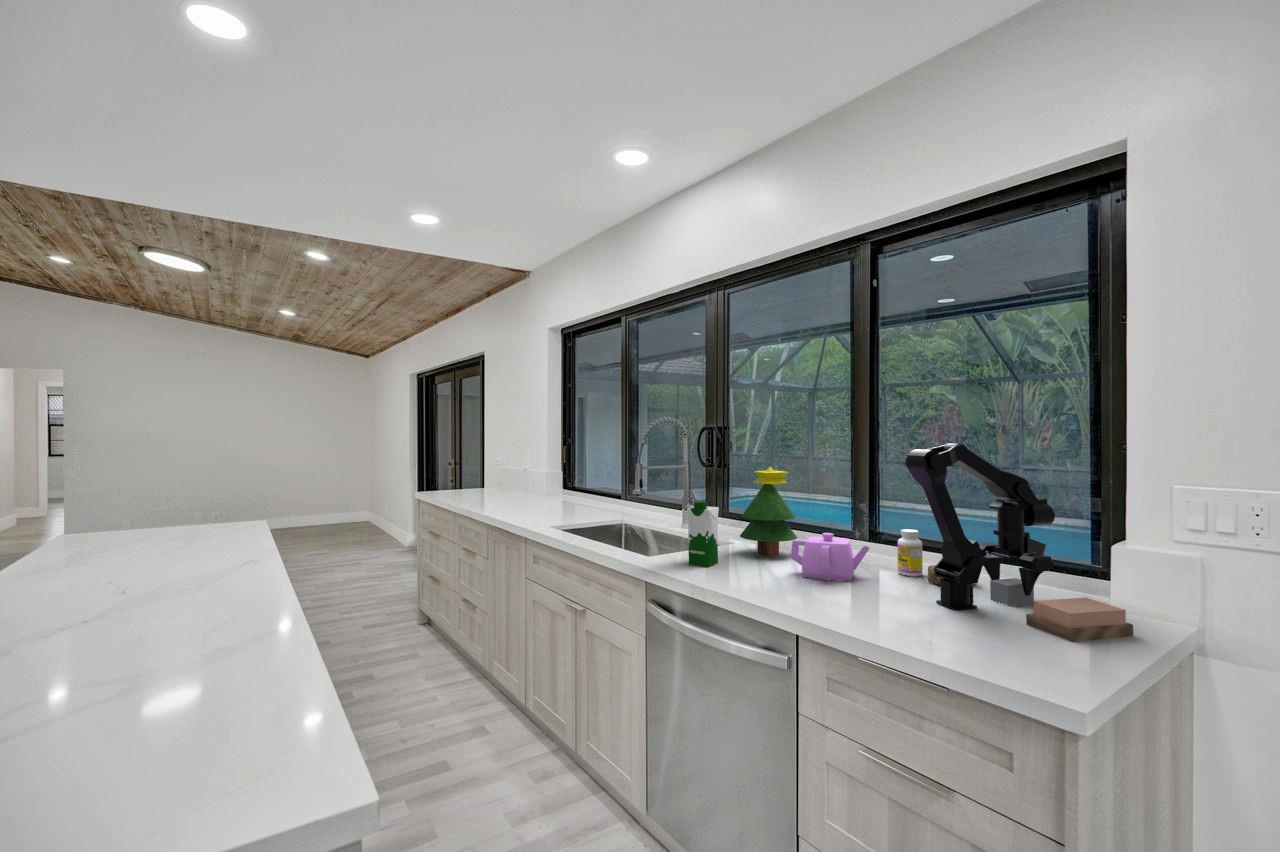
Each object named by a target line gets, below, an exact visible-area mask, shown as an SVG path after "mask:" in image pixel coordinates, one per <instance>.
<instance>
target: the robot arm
mask: <svg viewBox="0 0 1280 852" xmlns="http://www.w3.org/2000/svg"><path fill="white" fill-rule="evenodd" d="M955 464H956V465H957V466H958V467H960V468H961V469H963V470H964V471H966V472H968V473H969V474H970V475H972V476H974V477H976V478H977V479H978V480H980V481H981V482H983V483H984V484H985V486H986V488H987V490H988V491H989V492H990V493H991V494H992V495H994V496H995V498H997V499H995V501H994V502H993V503H991V504H990V505H989V509H991V510H992V509H993V510H997V513H996V515H997V518H996V519H997V520H996V521H997V525H996V526H997V528H996V529H995V530H994V529H993V530H992V531H993V535H995V536H997V543H993V542H978V541H977V540H973V539H969V538H967V536H966V534H965V531H964V529H963V526H962V524H961V522H960V519H959V516H958V514H957V511H956V508H955V506H954V503H953V500H952V497H951V495H950V493H949V490H948V487H947V485H946V478H947V474H948V468H949V467H951V466H953V465H955ZM905 465H906V468H907V470H908V471H909V473H910V475H911V476H912V478H913V479H914V481H916V482H917V483H918V484H919V485H920V487H922V489H923V491H924V494H925V497H926V499H927V501H928V503H929V507H930V510H931V512H932V514H933V517H934V521H935V522H936V525H937V528H938V530H939V533H940V536H941V538H942V545H941V549H940V551H941V557H942V558H941V559H940V560H939V561H938V562H937V564H936V566H935V567H934V572H935V575H936V576H937V577H941V578H943V579H940V584H941V585H940V599H937V600H936V601H935V603H936V604H938V605H941V606H943V607H946V608H949V609H951V610H955V611H959V610H969V609H972V610H973V609H978V605H976V604H974V586H973V585H976V584H977V585H978V583H979V580H980V576H981V573H982V569H983V567H984V569H985V571H986V572H987V575H988V577H989V578H990V580H1000V579H1001V564H1002V562H1003V561H1004V560H1005V559H1008V560H1013V561H1016V562H1019V565H1020V566H1021V567H1018V571H1019V576H1020V579H1021V581H1022V586H1023V590H1024V593H1025V595H1026V596H1030V594H1031V592H1032V589H1033V587H1034V588H1035V585H1036V582H1037V580H1038V578H1039V577H1040V575H1041V574H1043V573H1044V572H1048V571H1049V570H1054V566H1055V565H1054V559H1053V558H1052V556H1049V555H1045V552H1046V551H1045V550H1046V548H1047V547H1046V546H1047V544H1046V543H1043V542H1040V541H1038V540H1036V539H1032V538H1031V534H1030V532H1028V531H1026V530H1025V527H1040V526H1044V527H1045V526H1051V525H1052V524H1053V523H1054V521H1055V519H1056V513H1055V511H1054V509H1053V507H1052V506H1051V505H1050V504H1048V499H1047V498H1043V497H1038V498H1037V496H1036V494H1035V493H1034V491H1033V490H1032V489H1031V487H1030V485H1029V484H1030V483H1029V481H1028V480H1027V479H1026V478H1024V477H1022V476H1020V475H1018V474H1014V473H1011V472H1008V471H1005V470H1001V469H1000V468H998V467H996V466H995V465H993V464H992V463H990V462H989V461H987V460H986V459H984V458H983V457H981V456H980V455H978V454H977V453H975V452H973V451H972V450H970V449H968V447H967V446H966V445H964V444H962V443H955V442H954V443H951V442H949V443H945V444H943V445H939V446H935V447H930V448H925V449H921V448H920V449H917V448H915V449H912V450H911V451H909V452H908V454H907V456H906V458H905ZM954 571H955V572H959V574H957V573H954Z"/></svg>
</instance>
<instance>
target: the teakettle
mask: <svg viewBox="0 0 1280 852" xmlns="http://www.w3.org/2000/svg"><path fill="white" fill-rule="evenodd" d="M821 534H822V536H809V537H808V538H807V539H795V540H791V541H792V544H791V551H790V552H791V554H790V559H791V560H792V561H794V562H796V563H797V564H799V565H800V566H801V571H802V572H801V573H802V575H803V578H804V577H808V578H807V579H810V578H816V579H815V580H819V579H830V580H844V581H843V582H851V581H852V580H851V579H853V578H854V573H855V571H856V569H857V568H858V566H859V565H860V563H861V562H862V560H863V559H864V557H865V556H866V554H867V553H868V552H869V550H870V549H871V547H870V546H868V545H863V546H862V547H861V548H860V549H859V551H857V552H856V554H854V553H853V547H852V542H851V539H849V538H846V537H834V533H833V532H823V533H821ZM799 546H802V547H803V546H804V548H803V552H802V553H803V554H802V555H801V554H800V553H799V551H800V550H799V548H800V547H799ZM830 580H829V581H830Z"/></svg>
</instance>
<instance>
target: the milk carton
mask: <svg viewBox="0 0 1280 852" xmlns="http://www.w3.org/2000/svg"><path fill="white" fill-rule="evenodd" d="M707 503H708V502H707V501H704V500H696V501H693V506H691V507H687V508H686V510H687V511H686V512H687V518H688V519H687V520H688V521H687V522H688V526H687V527H688V537H687V538H688V566H689V565H690V566H696V567H702V568H703V567H704V568H705V567H706V568H710V567H712V566H714V565H717V564H719V551H718V549H719V542H718V541H719V540H718V539H719V537H718V536H719V535H718V534H719V533H718V530H719V529H718V527H719V525H718V524H719V523H718V519H719V509H720V508H719V507H718V506H708V504H707Z"/></svg>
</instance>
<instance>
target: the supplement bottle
mask: <svg viewBox="0 0 1280 852" xmlns="http://www.w3.org/2000/svg"><path fill="white" fill-rule="evenodd" d="M900 534H901V538H899V539H897V573H898V574H900V575H901V574H902V576H905V575H907V576H906V577H921V576H922V575H923V542H922V539H921V540H920V538H919V531H918V530H917V529H910V528H909V529H908V528H907V529H906V528H905V529H900Z"/></svg>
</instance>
